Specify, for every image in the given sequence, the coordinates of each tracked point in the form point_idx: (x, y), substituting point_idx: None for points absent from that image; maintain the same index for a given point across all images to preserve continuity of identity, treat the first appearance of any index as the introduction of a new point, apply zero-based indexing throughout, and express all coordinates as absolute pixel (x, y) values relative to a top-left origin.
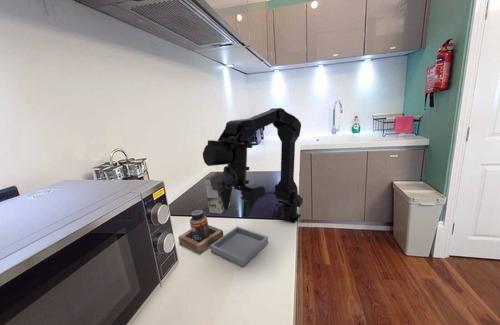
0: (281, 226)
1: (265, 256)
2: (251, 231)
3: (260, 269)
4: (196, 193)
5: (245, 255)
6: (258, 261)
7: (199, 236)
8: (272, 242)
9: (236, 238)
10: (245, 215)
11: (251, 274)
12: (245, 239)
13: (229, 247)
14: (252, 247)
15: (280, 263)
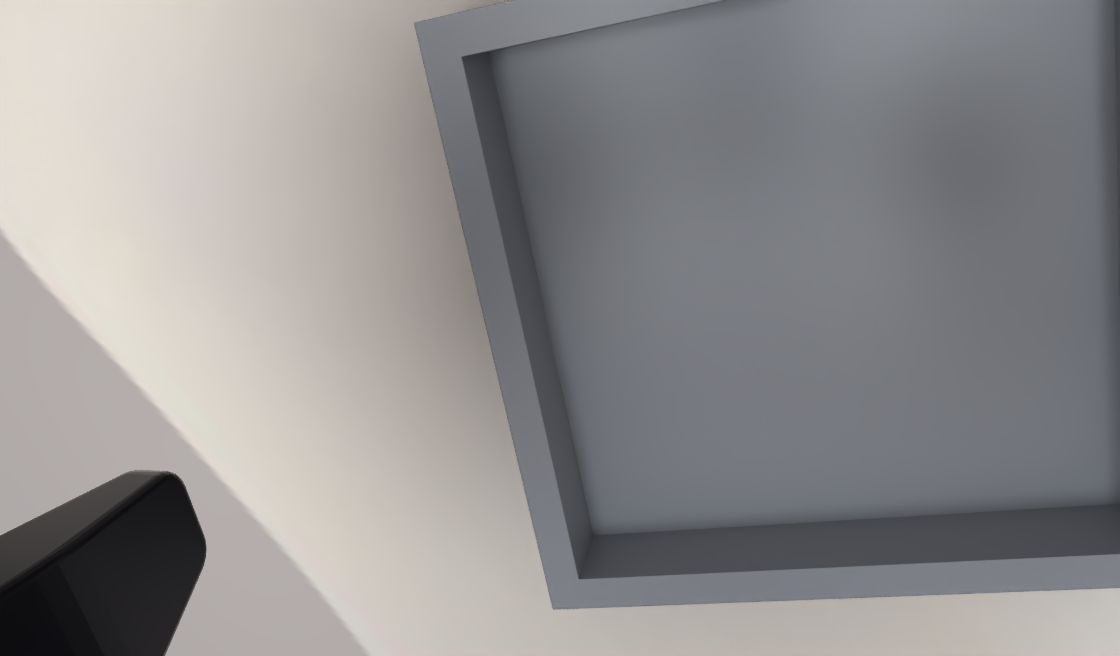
0: None
1: (423, 350)
2: (849, 592)
3: (296, 150)
4: None
5: (464, 126)
6: (413, 233)
7: None
8: None
9: (1012, 379)
10: (22, 525)
11: (299, 15)
12: (865, 440)
13: (927, 153)
14: (640, 367)
15: (233, 361)
